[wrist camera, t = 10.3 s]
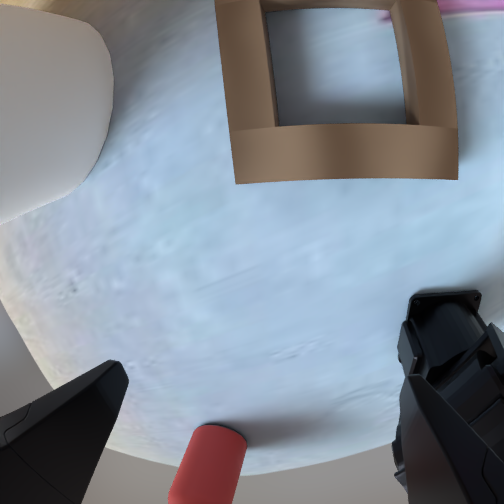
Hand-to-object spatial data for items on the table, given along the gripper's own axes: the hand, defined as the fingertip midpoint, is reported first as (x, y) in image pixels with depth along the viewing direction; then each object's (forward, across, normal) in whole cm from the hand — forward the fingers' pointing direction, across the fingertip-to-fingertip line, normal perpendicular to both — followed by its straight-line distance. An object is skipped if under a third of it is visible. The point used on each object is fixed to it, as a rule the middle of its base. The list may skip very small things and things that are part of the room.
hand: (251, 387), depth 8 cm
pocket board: (+13, -4, -17) cm, 22 cm away
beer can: (+13, +9, +25) cm, 30 cm away
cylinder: (+13, +20, -13) cm, 27 cm away
